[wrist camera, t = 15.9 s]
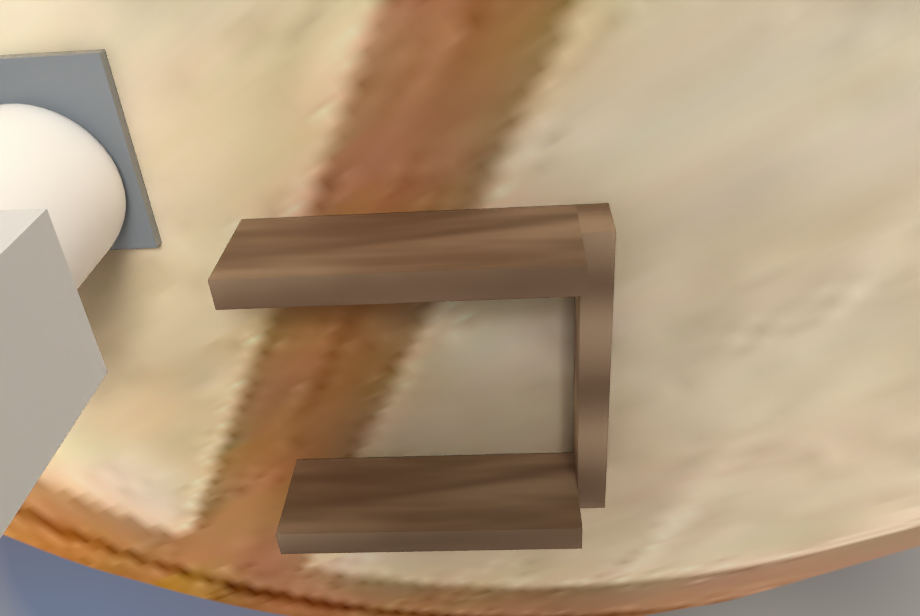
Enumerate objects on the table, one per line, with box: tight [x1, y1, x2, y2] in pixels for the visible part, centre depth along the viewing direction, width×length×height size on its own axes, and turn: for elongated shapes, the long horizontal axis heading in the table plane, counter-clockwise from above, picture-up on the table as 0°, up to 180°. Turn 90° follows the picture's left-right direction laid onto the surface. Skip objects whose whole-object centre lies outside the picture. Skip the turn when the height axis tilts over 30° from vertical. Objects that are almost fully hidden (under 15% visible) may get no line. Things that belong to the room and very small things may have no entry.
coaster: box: [0, 49, 161, 250], centre depth 41 cm, size 10×10×1 cm
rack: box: [208, 203, 616, 554], centre depth 45 cm, size 18×19×6 cm
